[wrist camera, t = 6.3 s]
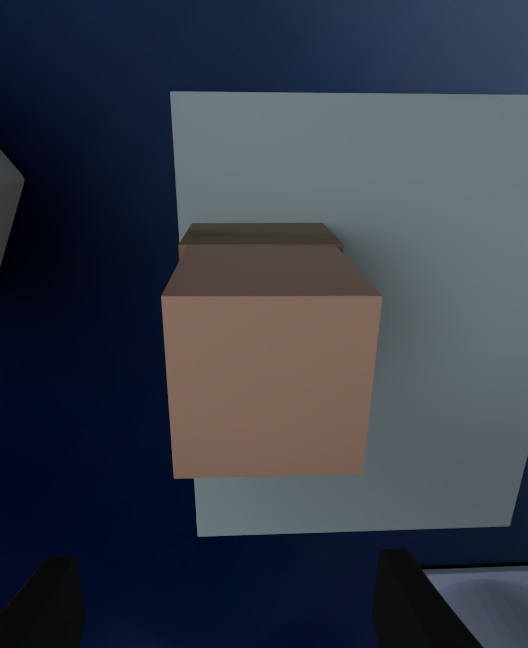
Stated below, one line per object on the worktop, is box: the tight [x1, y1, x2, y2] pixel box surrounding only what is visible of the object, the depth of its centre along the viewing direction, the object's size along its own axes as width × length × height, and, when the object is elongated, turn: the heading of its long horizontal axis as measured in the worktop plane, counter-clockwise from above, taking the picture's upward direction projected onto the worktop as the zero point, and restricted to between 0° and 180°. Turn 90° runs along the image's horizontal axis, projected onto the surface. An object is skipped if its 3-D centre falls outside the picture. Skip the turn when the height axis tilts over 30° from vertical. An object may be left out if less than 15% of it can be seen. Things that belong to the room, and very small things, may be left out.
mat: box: [170, 92, 528, 537], centre depth 20 cm, size 20×16×1 cm
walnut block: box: [179, 223, 344, 260], centre depth 17 cm, size 5×5×4 cm
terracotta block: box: [161, 245, 382, 479], centre depth 13 cm, size 4×4×5 cm
